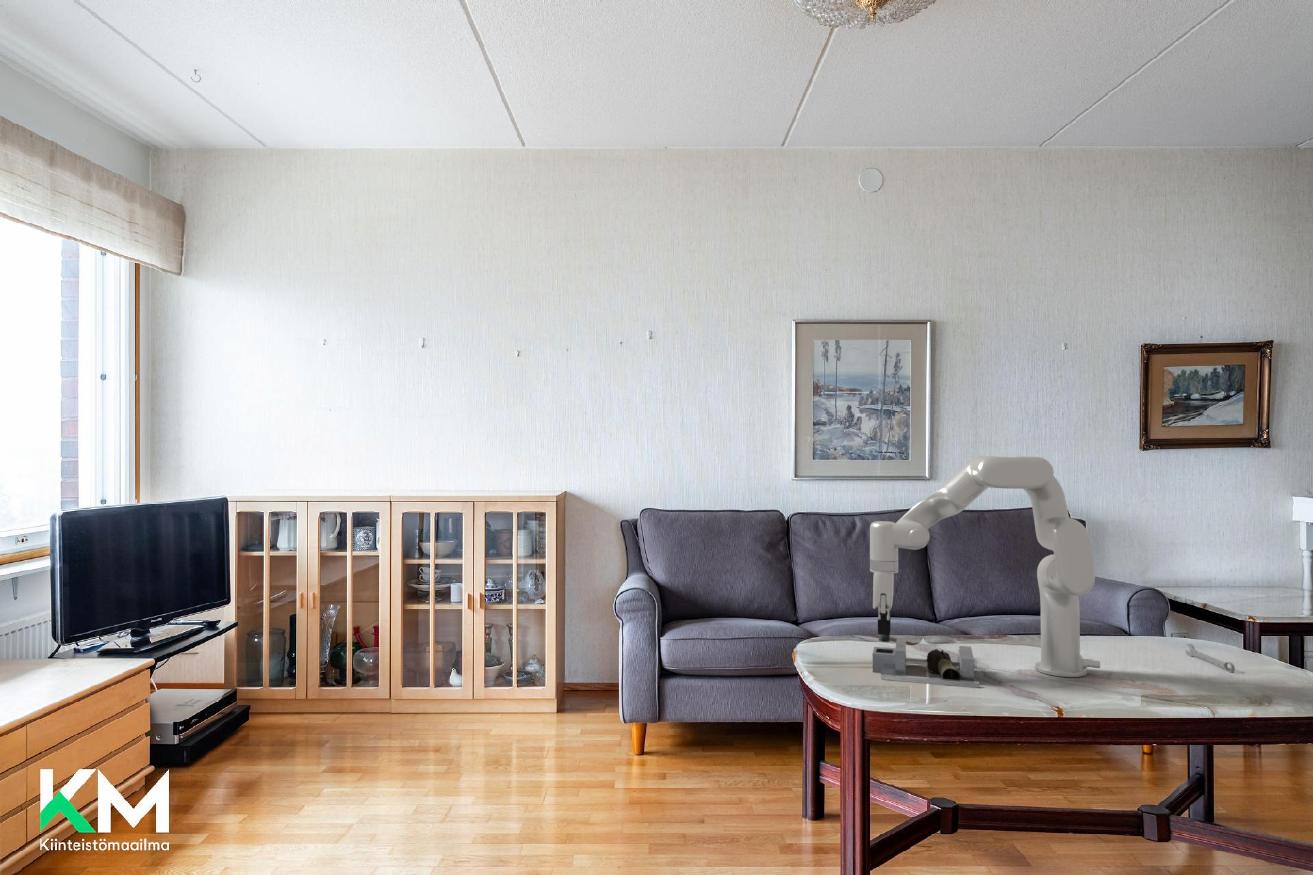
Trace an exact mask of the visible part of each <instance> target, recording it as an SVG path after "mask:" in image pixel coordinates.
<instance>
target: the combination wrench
mask: <svg viewBox="0 0 1313 875" xmlns="http://www.w3.org/2000/svg"><path fill="white" fill-rule="evenodd" d="M1185 645H1186V646H1187V647H1188V648H1189V651H1188V650H1187V649H1186V650H1184V652H1185V654H1186V655H1187V656H1188V657H1191V658H1193V657H1198V658H1201V660H1204V661H1207V662H1209V663H1211V664H1213V665H1215V666H1217V667H1220V668H1222V669H1223V670H1224V671H1225V672H1228V673H1234V672H1235V670H1236V667H1235V665H1234V663H1232V662H1231V661H1223V660H1220V659H1217V658H1216V657H1212V656H1210V655H1208V654H1205V653H1203V652H1201V651H1199V650H1196V649H1195V646H1194V645H1193V644H1192V643H1185ZM1228 665H1229V666H1230V669H1229V668H1228Z"/></svg>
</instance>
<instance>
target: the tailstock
mask: <svg viewBox="0 0 1313 875" xmlns="http://www.w3.org/2000/svg"><path fill="white" fill-rule="evenodd" d="M895 642H896V643H895V647H883V646H882V647H881V646H874V647H873V651H872V673H879V674H881V673H882V674H894V675H905V676H906V673H907V663H906V657H907V639H906V638H905V639H904V638H896V641H895Z"/></svg>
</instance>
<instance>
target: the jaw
mask: <svg viewBox="0 0 1313 875" xmlns="http://www.w3.org/2000/svg"><path fill="white" fill-rule="evenodd" d="M958 646H959V647H958V649H957V661H958V667H957V668H958V671H959V672H960V674H961V680H963V681H975V668H974V664H975V657H974V654H973V648H972V647H971V646H967V645H965V646H964V645H958Z"/></svg>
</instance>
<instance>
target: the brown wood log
mask: <svg viewBox="0 0 1313 875" xmlns="http://www.w3.org/2000/svg"><path fill="white" fill-rule="evenodd" d="M926 659H927V664H926V666H927V667H926V668H927V670H928V671H929V672H930V673H933V674H934V673H935V674H940V677H941V679H952V680H961V674H960V672H959V669H957V668H958V667H955V666H954V664H953V663H952V661H953V660H952V659H951V656H950V654H949V653H948V652H946V651H944V649H942V650H938V648H936V649H931V650H929V652H928V653H927V655H926Z"/></svg>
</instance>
